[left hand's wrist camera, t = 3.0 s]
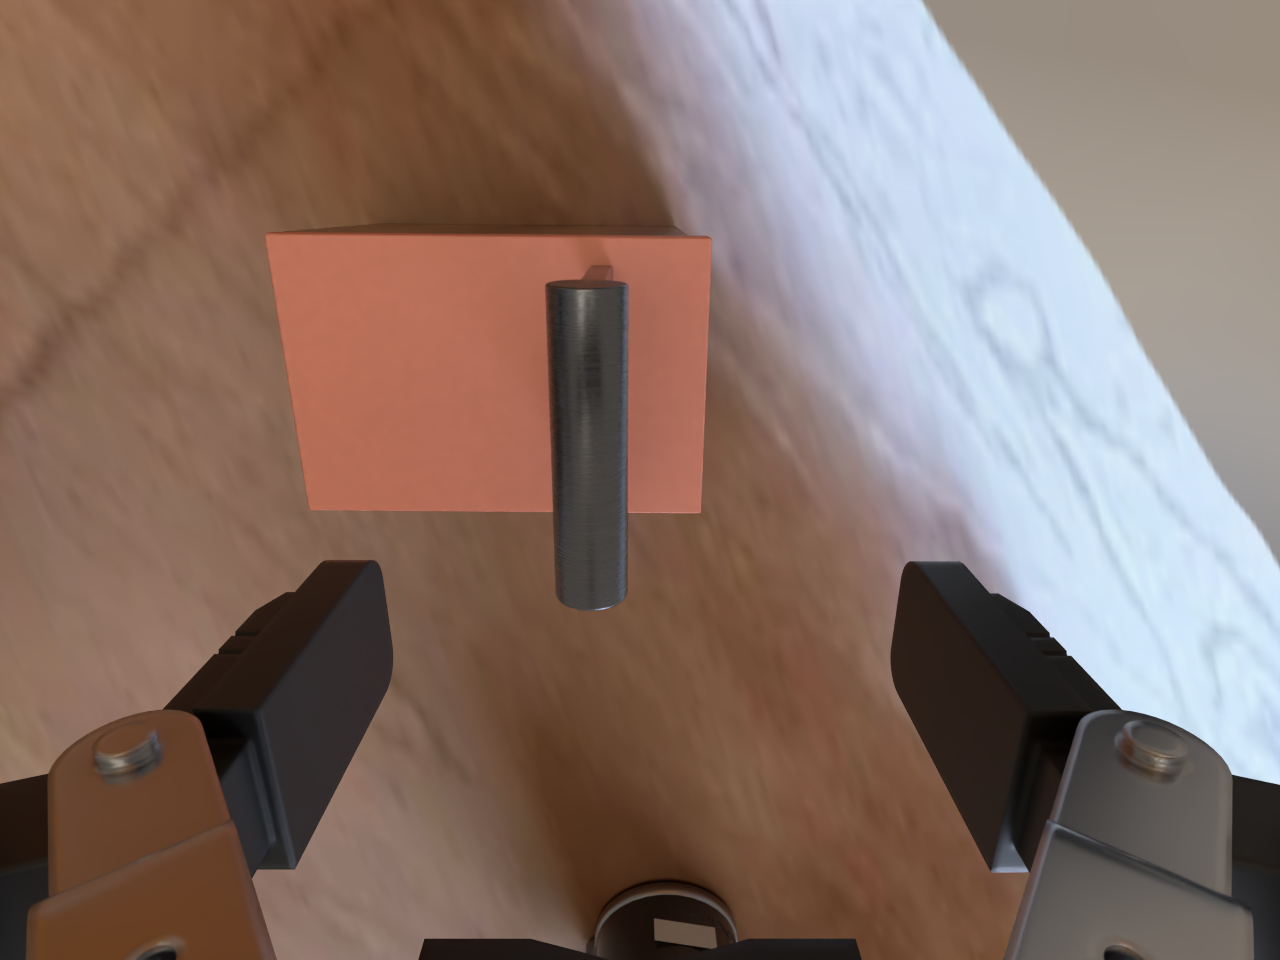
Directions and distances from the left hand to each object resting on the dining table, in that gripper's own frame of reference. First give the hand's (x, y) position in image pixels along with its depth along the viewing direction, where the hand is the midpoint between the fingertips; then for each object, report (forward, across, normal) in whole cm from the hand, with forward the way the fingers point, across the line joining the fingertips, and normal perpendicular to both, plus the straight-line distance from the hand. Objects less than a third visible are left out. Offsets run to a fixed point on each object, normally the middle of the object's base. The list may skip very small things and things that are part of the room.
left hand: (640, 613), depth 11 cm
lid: (+16, +5, 0) cm, 16 cm away
